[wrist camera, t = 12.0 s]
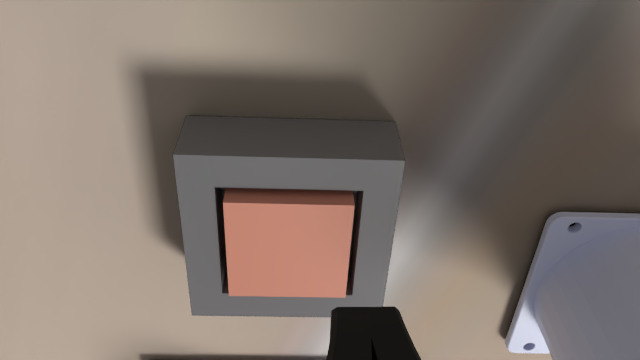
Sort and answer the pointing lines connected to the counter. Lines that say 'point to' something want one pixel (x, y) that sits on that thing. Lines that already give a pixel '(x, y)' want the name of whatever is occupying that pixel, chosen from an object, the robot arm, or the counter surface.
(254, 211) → the button
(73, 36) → the counter surface
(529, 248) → the counter surface
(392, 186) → the button housing
